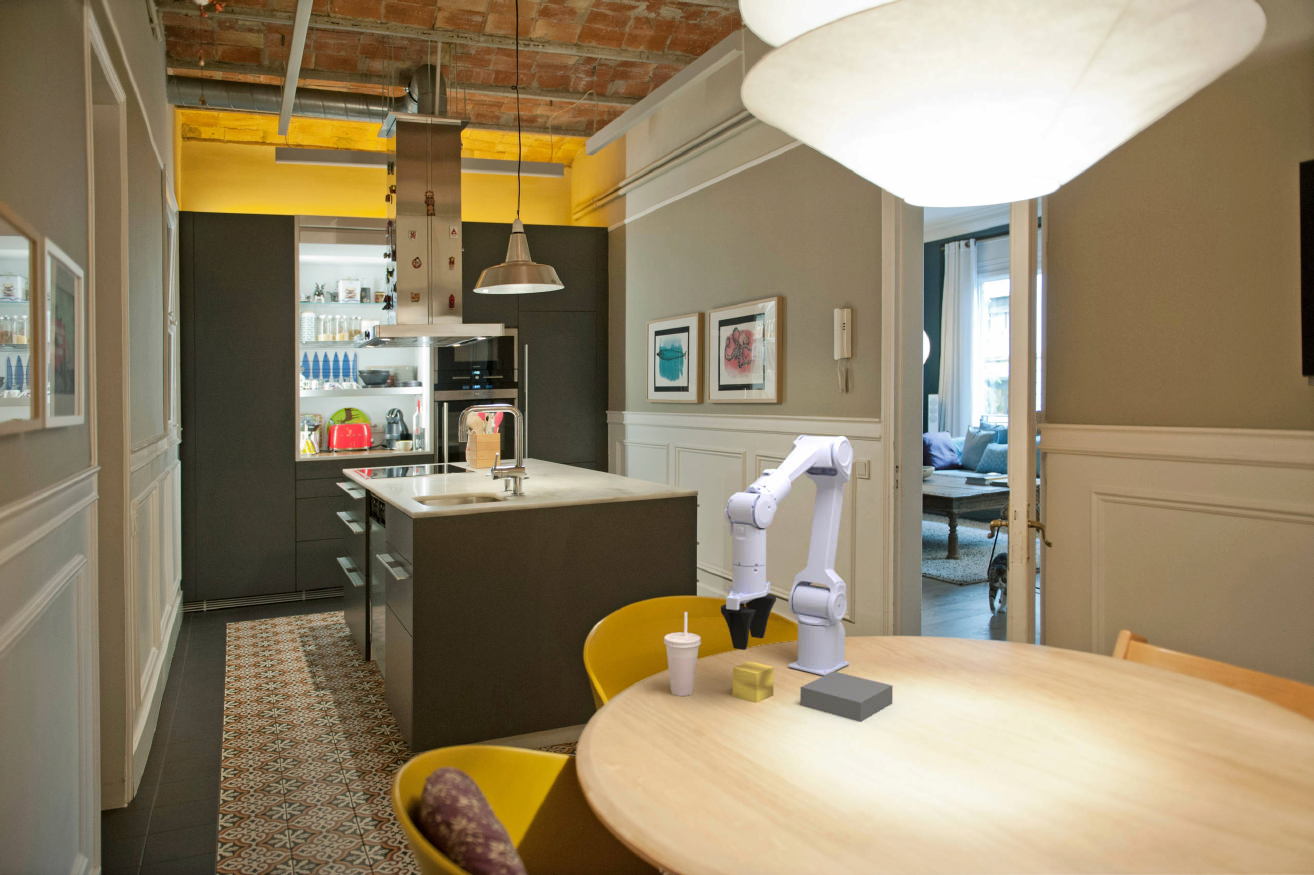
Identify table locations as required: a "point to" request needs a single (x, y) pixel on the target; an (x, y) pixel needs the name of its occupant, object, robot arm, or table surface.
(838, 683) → the base block
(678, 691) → the smoothie
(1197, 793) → the table surface
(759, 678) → the mustard cube
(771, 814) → the table surface
